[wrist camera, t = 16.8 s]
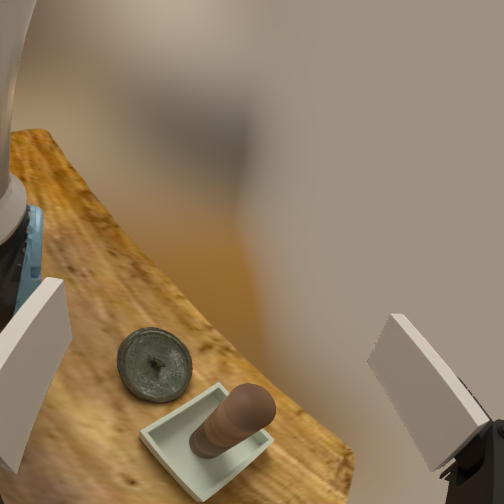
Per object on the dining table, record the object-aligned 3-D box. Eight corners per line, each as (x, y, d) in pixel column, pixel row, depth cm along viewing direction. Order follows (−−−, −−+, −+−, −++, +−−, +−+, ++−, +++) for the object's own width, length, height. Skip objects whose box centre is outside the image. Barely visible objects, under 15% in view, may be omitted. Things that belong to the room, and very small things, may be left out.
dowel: (205, 465, 29) (254, 437, 20) (181, 439, 30) (218, 400, 22) (229, 446, 32) (285, 408, 24) (206, 422, 34) (252, 375, 25)
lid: (177, 338, 43) (184, 319, 40) (199, 396, 37) (210, 382, 34) (110, 344, 37) (111, 325, 34) (126, 409, 31) (128, 396, 28)
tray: (196, 502, 25) (203, 502, 23) (138, 436, 29) (140, 430, 27) (264, 445, 34) (274, 439, 33) (212, 390, 38) (218, 381, 37)
